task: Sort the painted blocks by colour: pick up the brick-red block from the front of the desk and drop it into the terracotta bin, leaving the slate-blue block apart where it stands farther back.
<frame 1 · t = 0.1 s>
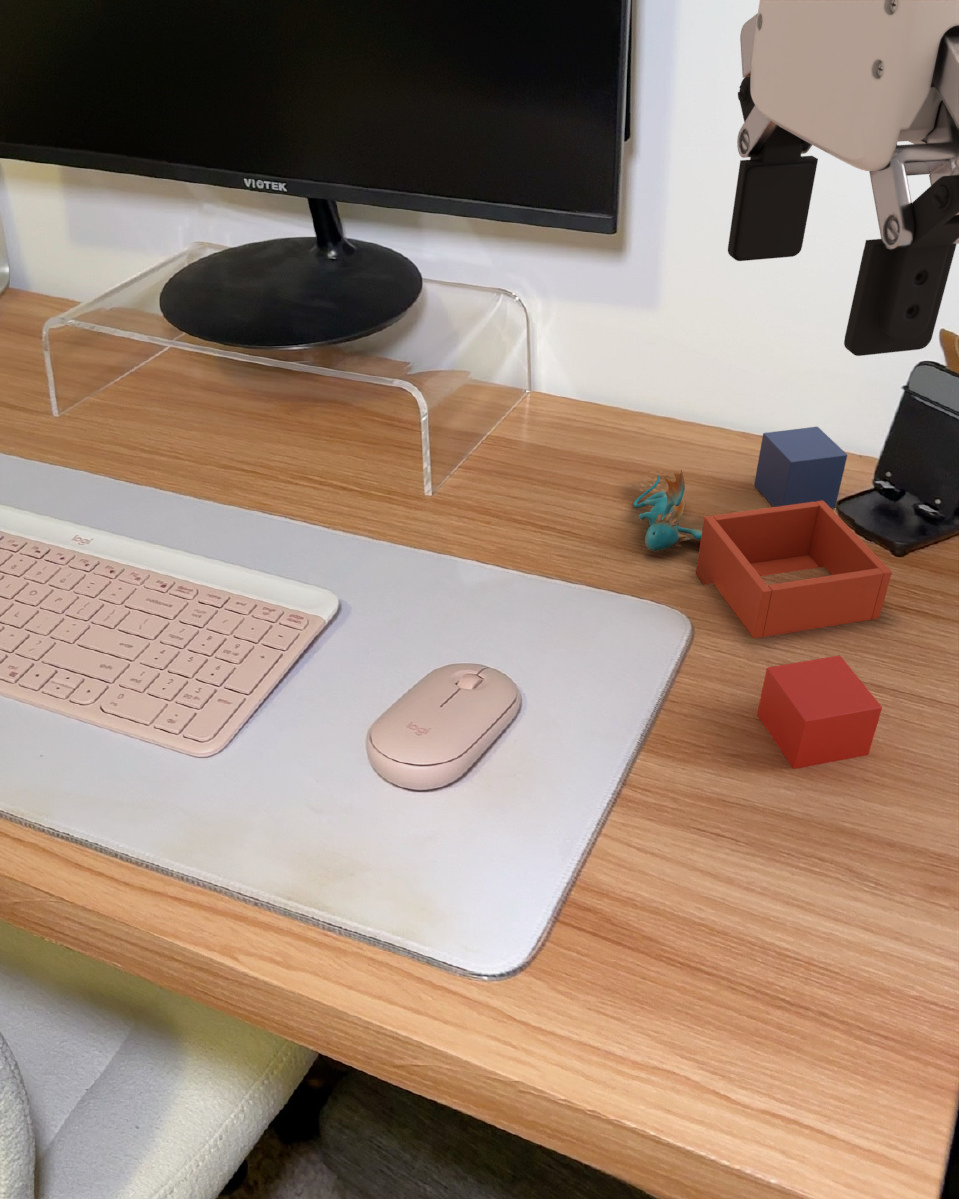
hand: (819, 299, 44), 27 cm above the table, tool pointing down, fingers open, 9 cm apart
red bin: (782, 601, 74), on the table
blue block: (794, 496, 85), on the table
dragon figurine: (664, 530, 82), on the table
red block: (808, 747, 63), on the table
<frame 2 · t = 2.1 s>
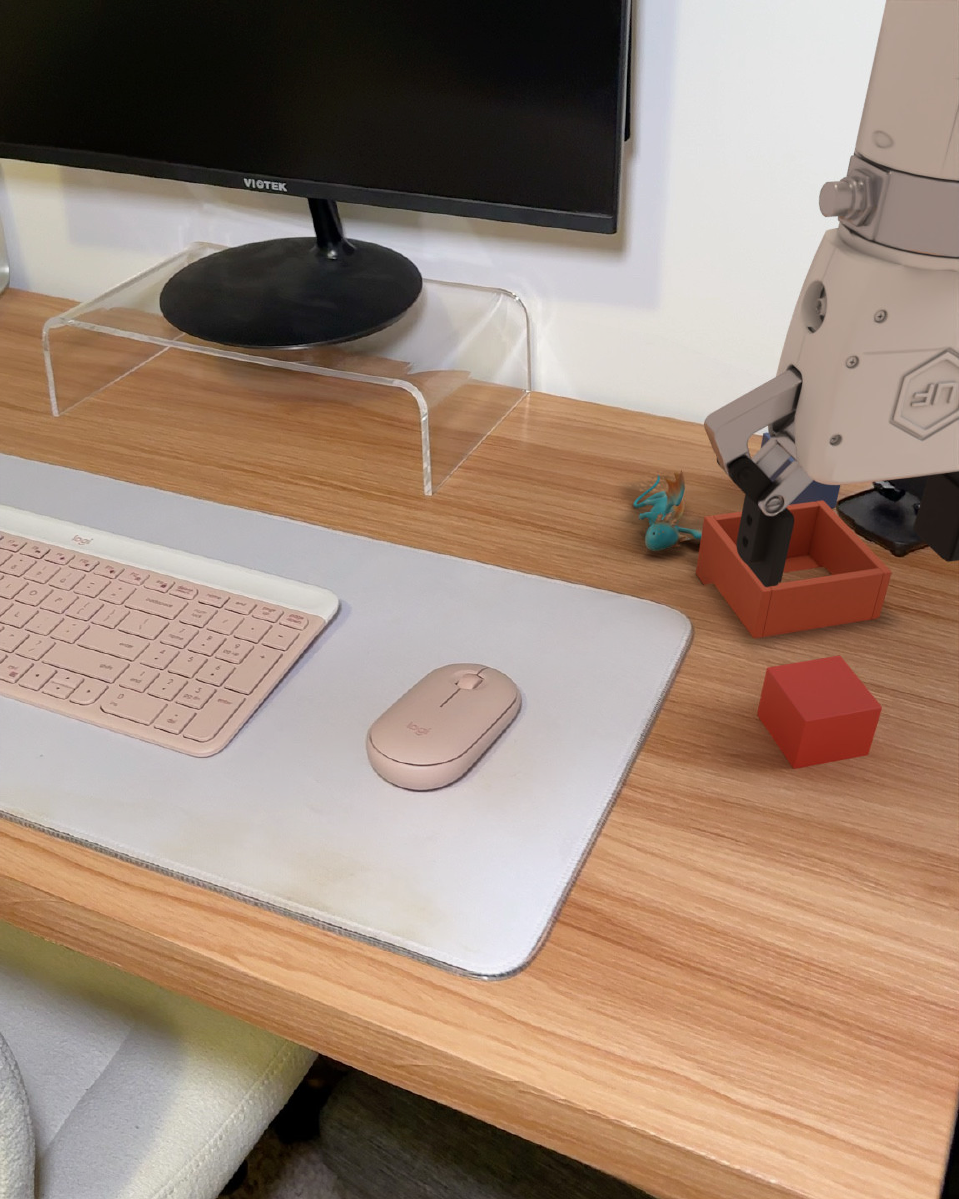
hand: (848, 558, 55), 13 cm above the table, tool pointing down, fingers open, 9 cm apart
nothing on the table moved.
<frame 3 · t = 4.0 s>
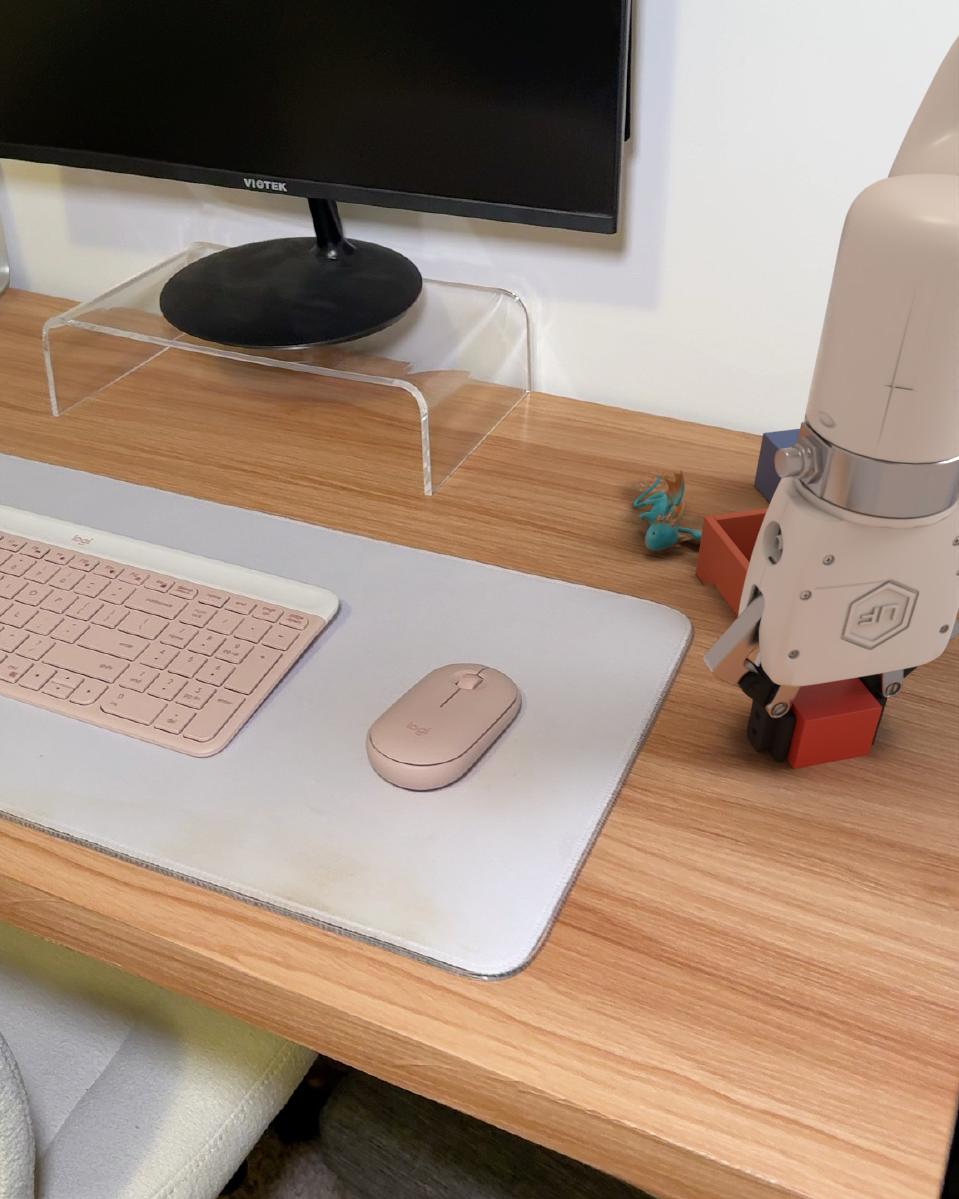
hand: (809, 742, 63), 0 cm above the table, tool pointing down, fingers closed on red block, 4 cm apart
red block: (808, 747, 63), on the table, touching gripper
everything else where it was.
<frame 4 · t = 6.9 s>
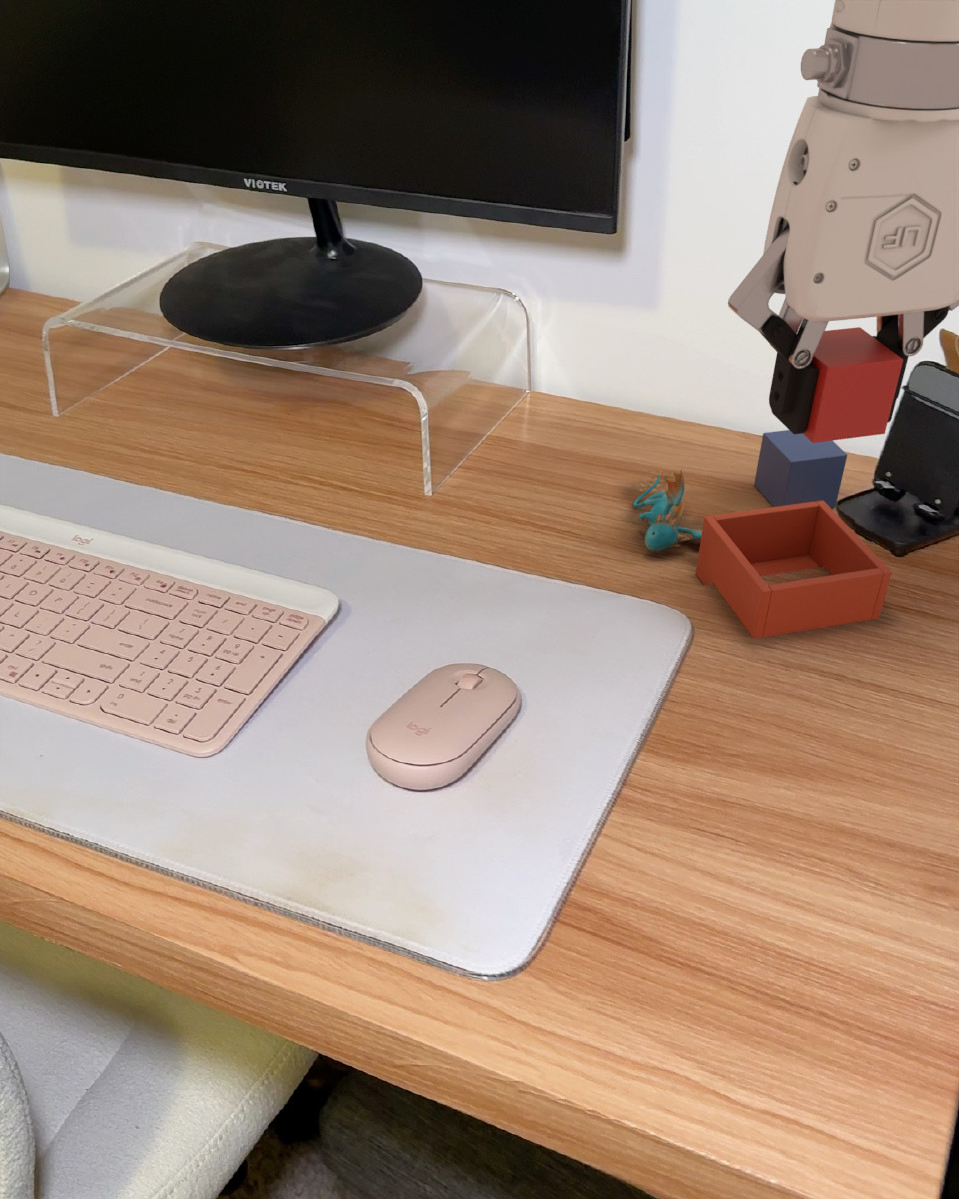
hand: (830, 414, 64), 15 cm above the table, tool pointing down, fingers closed on red block, 4 cm apart
red block: (828, 420, 64), point 14 cm above the table, touching gripper
everything else where it was.
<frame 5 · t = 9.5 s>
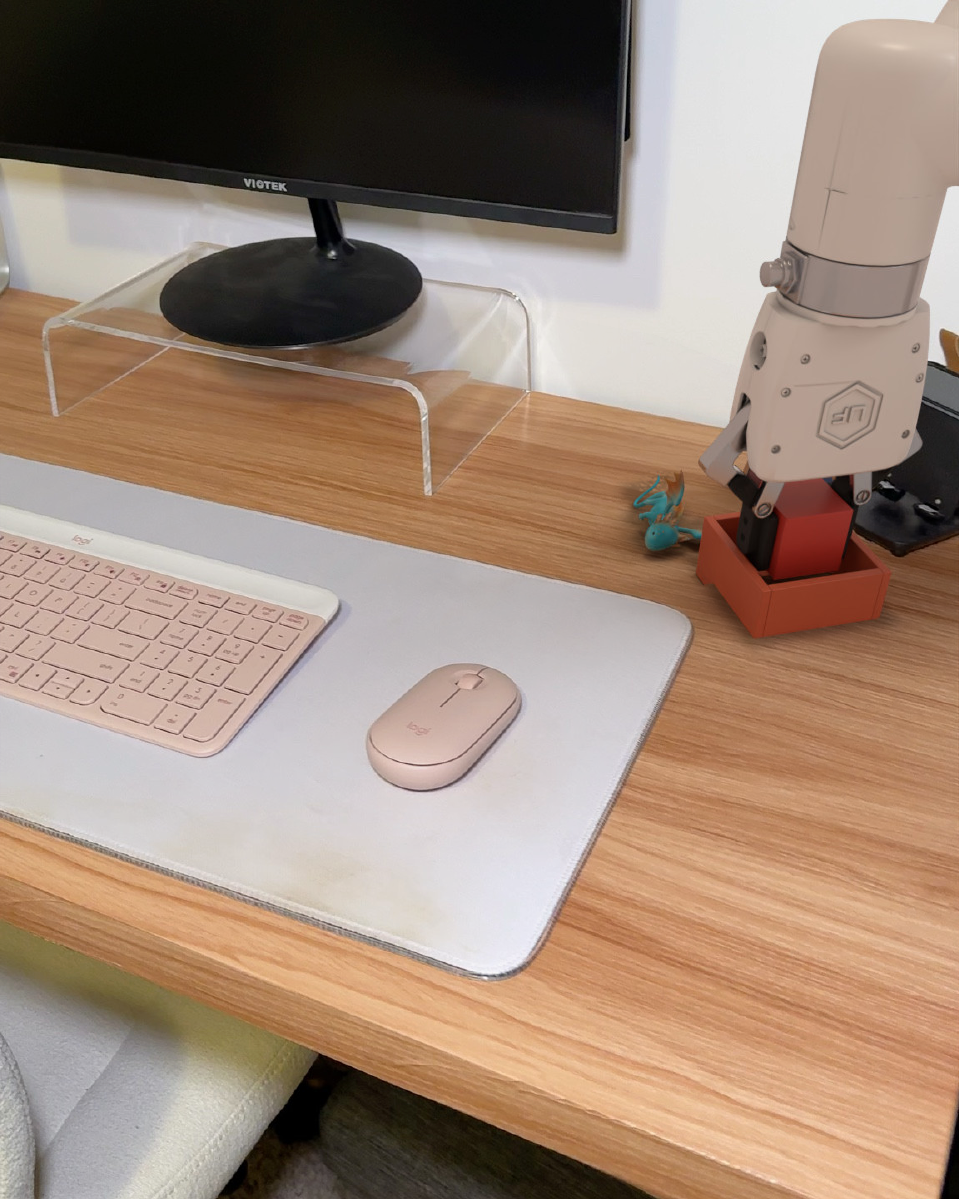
hand: (790, 551, 72), 4 cm above the table, tool pointing down, fingers closed on red block, 4 cm apart
red block: (789, 556, 72), point 4 cm above the table, touching gripper
everything else where it was.
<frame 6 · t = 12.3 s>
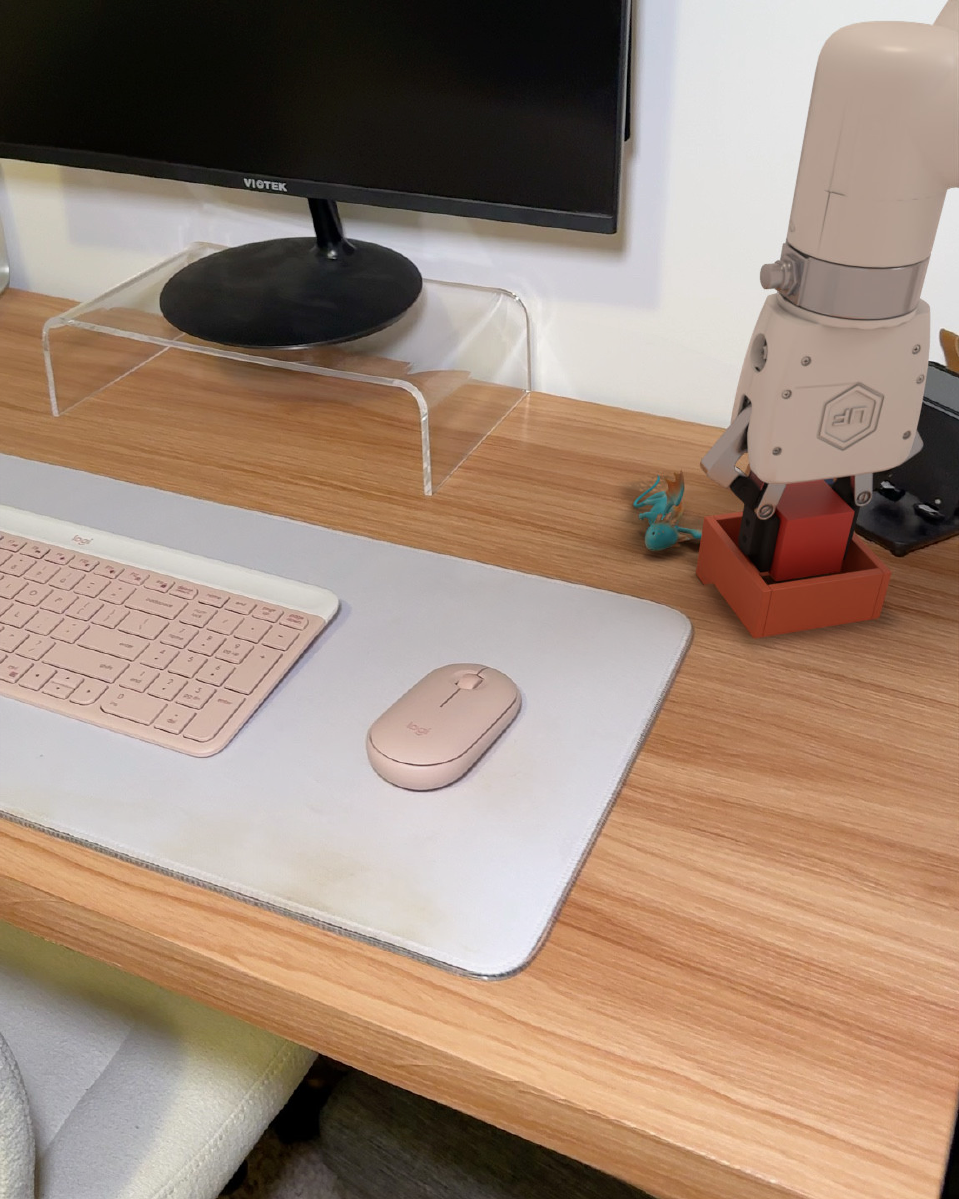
hand: (792, 552, 72), 4 cm above the table, tool pointing down, fingers closed on red block, 4 cm apart
red block: (791, 557, 72), point 4 cm above the table, touching gripper
everything else where it was.
when the fingers open (5 cm above the table, at t = 14.4 s): red block drops 4 cm, resting on red bin.
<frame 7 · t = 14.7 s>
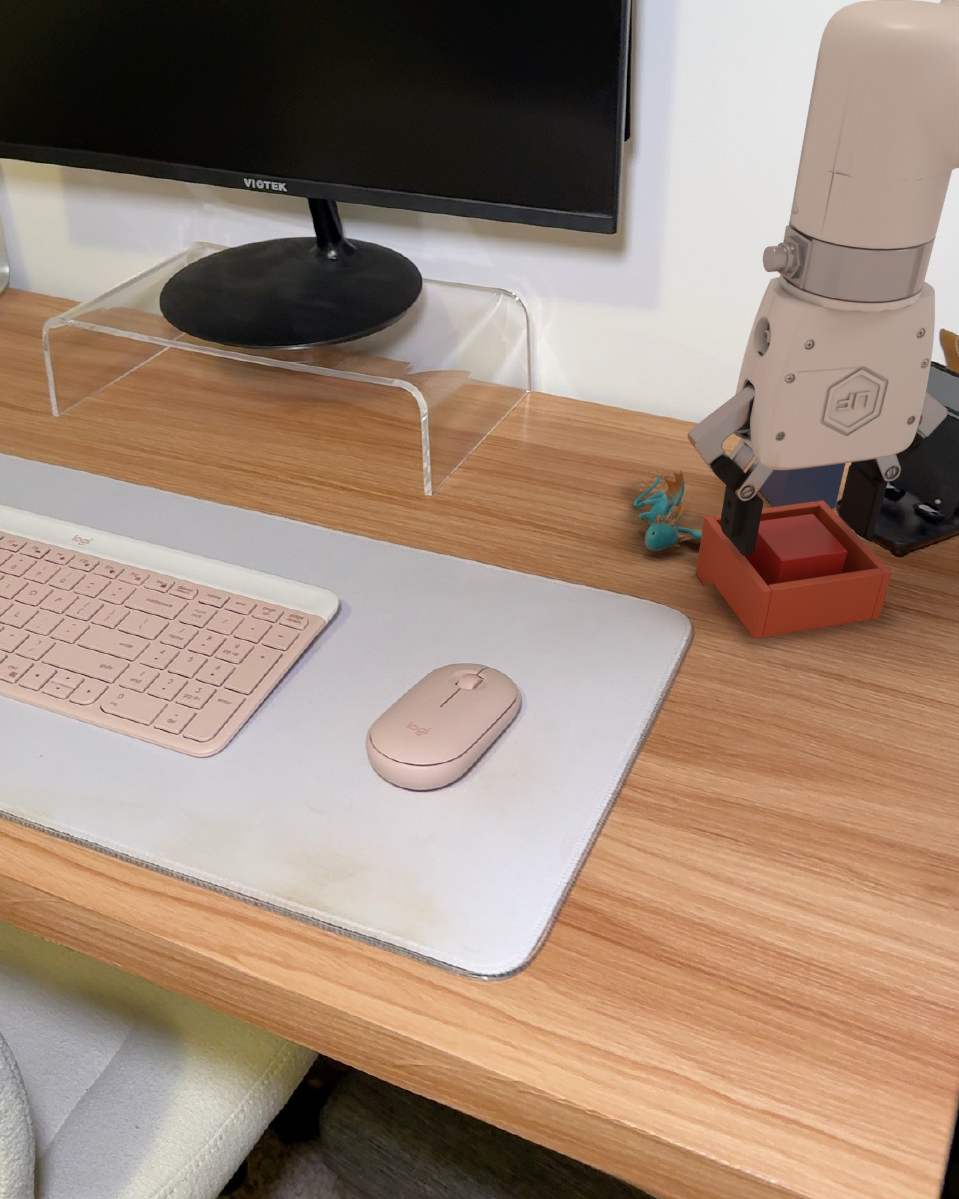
hand: (797, 533, 71), 5 cm above the table, tool pointing down, fingers open, 7 cm apart
red block: (785, 593, 74), point 1 cm above the table, touching red bin
everything else where it was.
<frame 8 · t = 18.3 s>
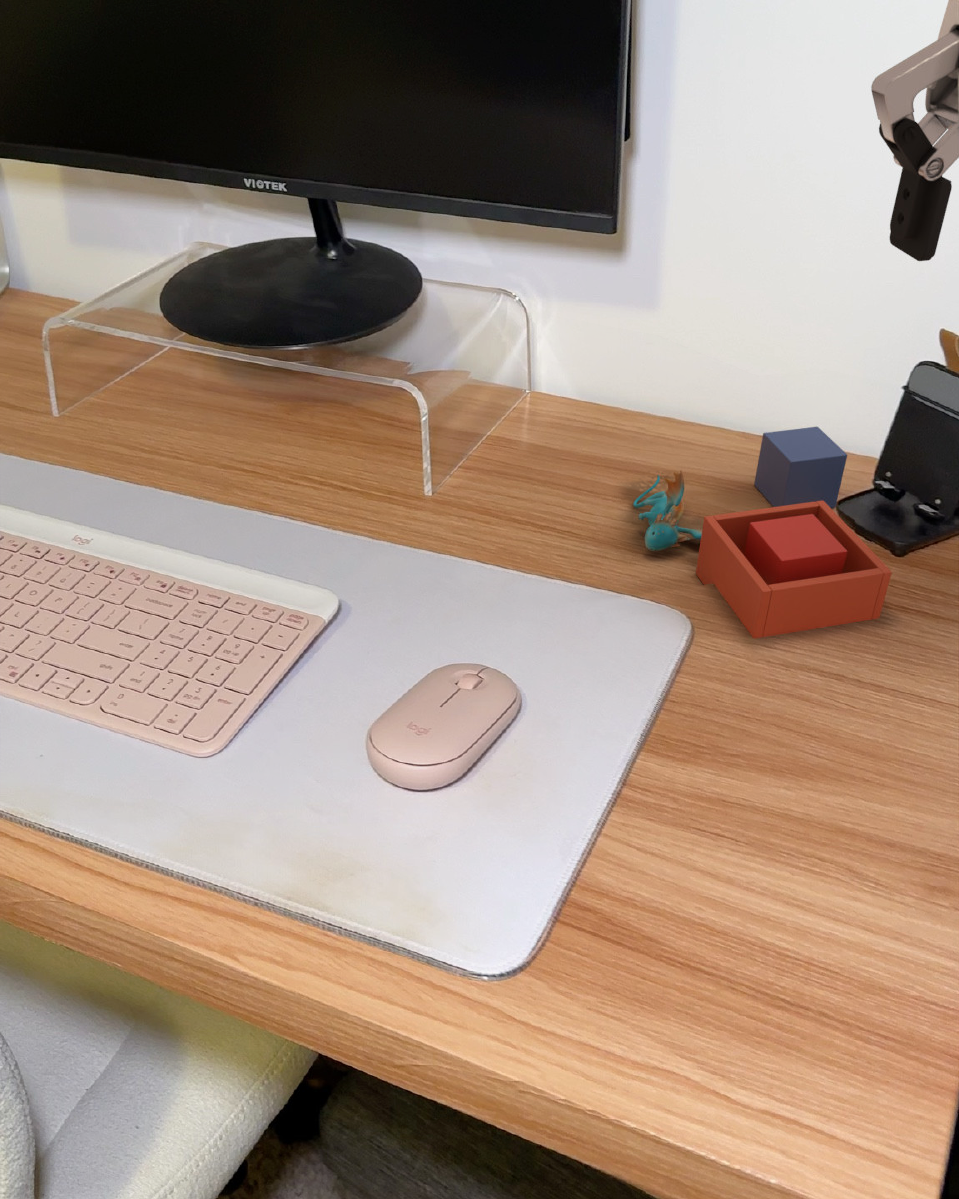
nothing on the table moved.
at the end: red block 0.1 cm off-centre in the red bin, point 0.6 cm above the red bin's base; blue block moved 0.0 cm from its start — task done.
